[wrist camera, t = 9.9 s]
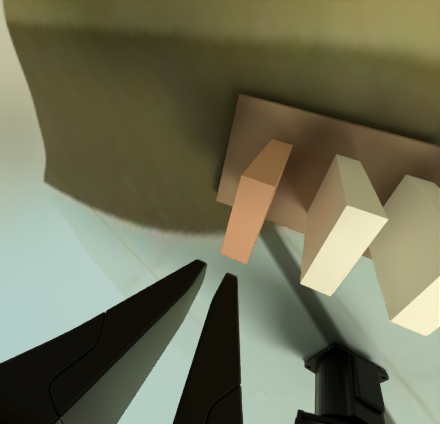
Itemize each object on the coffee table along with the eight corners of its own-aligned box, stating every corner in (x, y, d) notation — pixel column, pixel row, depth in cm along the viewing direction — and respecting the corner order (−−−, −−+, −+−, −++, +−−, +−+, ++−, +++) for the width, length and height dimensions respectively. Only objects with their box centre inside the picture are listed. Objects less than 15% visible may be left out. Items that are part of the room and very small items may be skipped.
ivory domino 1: (360, 161, 15) (388, 219, 9) (327, 219, 18) (330, 296, 12) (336, 154, 16) (346, 205, 9) (307, 212, 19) (299, 283, 12)
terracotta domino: (293, 145, 17) (275, 186, 10) (271, 202, 19) (246, 264, 13) (271, 138, 17) (241, 175, 10) (253, 196, 20) (220, 253, 13)
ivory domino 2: (433, 182, 15) (523, 263, 8) (386, 240, 17) (426, 336, 11) (406, 174, 15) (471, 246, 8) (364, 232, 18) (390, 321, 11)
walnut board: (712, 217, 12) (741, 228, 11) (543, 315, 17) (554, 327, 16) (242, 93, 17) (239, 94, 16) (219, 196, 22) (216, 200, 21)
